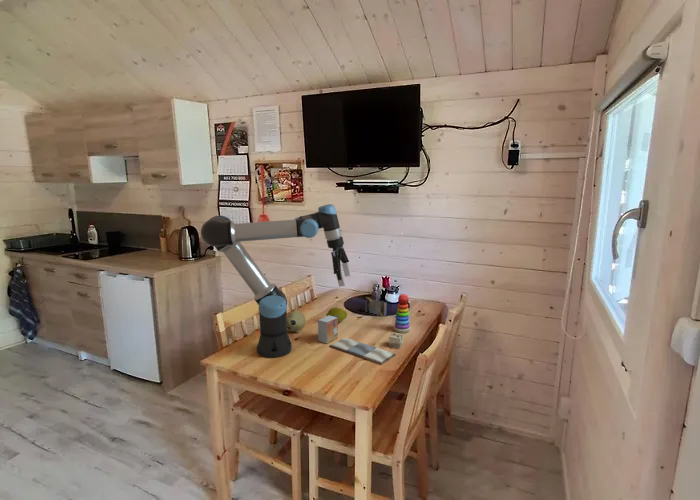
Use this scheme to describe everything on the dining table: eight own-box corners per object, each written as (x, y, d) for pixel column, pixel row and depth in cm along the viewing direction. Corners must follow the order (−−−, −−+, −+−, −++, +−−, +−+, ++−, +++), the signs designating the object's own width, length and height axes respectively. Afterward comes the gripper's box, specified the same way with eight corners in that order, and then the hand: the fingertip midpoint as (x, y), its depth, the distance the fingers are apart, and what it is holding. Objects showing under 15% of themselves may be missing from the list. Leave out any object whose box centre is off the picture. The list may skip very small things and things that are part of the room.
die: (399, 348, 185) (400, 338, 184) (389, 347, 187) (389, 336, 186) (402, 344, 190) (403, 334, 189) (392, 342, 192) (392, 332, 191)
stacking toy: (391, 331, 204) (392, 295, 200) (397, 326, 211) (398, 290, 207) (406, 334, 200) (407, 297, 197) (412, 328, 207) (413, 293, 204)
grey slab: (365, 313, 229) (365, 296, 227) (367, 312, 232) (368, 295, 230) (383, 317, 224) (384, 300, 222) (386, 315, 226) (386, 298, 224)
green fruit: (324, 324, 213) (324, 309, 212) (328, 318, 221) (328, 304, 219) (344, 326, 211) (344, 311, 209) (348, 320, 218) (348, 306, 216)
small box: (327, 344, 190) (326, 322, 188) (317, 341, 193) (317, 319, 191) (338, 338, 196) (338, 317, 194) (329, 335, 199) (328, 314, 197)
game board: (381, 364, 170) (381, 362, 170) (329, 346, 187) (329, 344, 187) (395, 355, 179) (395, 353, 179) (344, 338, 196) (344, 336, 195)
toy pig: (278, 334, 201) (277, 313, 199) (292, 325, 211) (292, 305, 209) (295, 338, 196) (294, 316, 194) (309, 329, 207) (308, 308, 205)
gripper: (336, 243, 178) (347, 289, 183) (347, 230, 202) (357, 270, 207) (319, 246, 180) (331, 291, 185) (332, 233, 204) (342, 273, 208)
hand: (345, 280), depth 196 cm, fingers open, 13 cm apart
